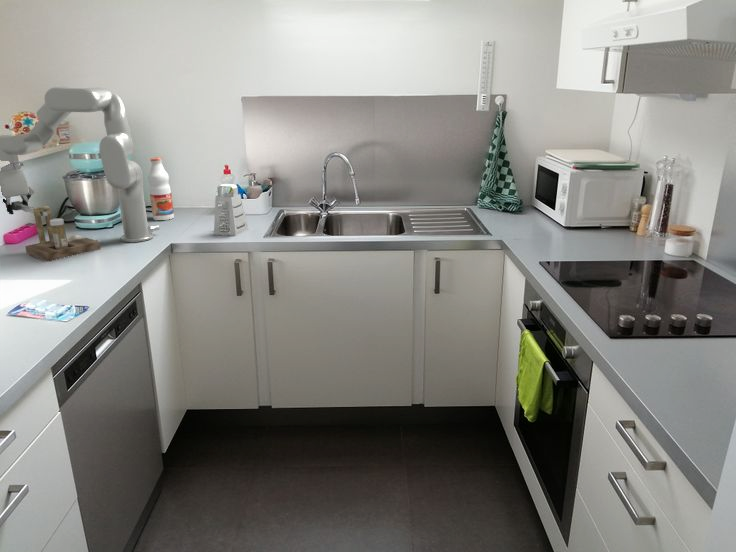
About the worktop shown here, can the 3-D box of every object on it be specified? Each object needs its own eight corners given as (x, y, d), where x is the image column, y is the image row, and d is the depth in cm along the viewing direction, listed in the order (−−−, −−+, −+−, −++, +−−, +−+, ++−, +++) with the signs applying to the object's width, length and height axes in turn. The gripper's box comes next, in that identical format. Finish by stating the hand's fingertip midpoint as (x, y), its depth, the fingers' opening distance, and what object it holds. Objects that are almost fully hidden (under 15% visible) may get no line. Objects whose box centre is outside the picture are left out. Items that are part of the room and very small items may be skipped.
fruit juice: (165, 215, 281) (157, 156, 272) (178, 217, 276) (171, 157, 267) (148, 219, 274) (140, 158, 264) (162, 222, 269) (154, 160, 259)
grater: (235, 235, 244) (231, 187, 238) (213, 234, 247) (209, 186, 241) (248, 229, 254) (244, 183, 247) (227, 228, 257) (222, 182, 250)
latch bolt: (20, 208, 239) (18, 201, 238) (50, 216, 224) (48, 209, 223) (12, 209, 237) (10, 202, 236) (42, 218, 222) (40, 210, 221)
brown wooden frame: (78, 242, 238) (71, 201, 233) (100, 249, 228) (93, 207, 223) (26, 253, 223) (17, 211, 218) (47, 261, 213) (38, 217, 208)
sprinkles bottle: (70, 254, 222) (64, 219, 217) (57, 256, 219) (50, 221, 215) (68, 251, 225) (62, 217, 221) (55, 253, 223) (48, 219, 218)
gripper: (27, 163, 240) (36, 207, 246) (-19, 169, 228) (-9, 215, 234) (35, 165, 236) (44, 209, 242) (-11, 171, 223) (-1, 217, 229)
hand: (18, 212), depth 238 cm, fingers open, 4 cm apart
